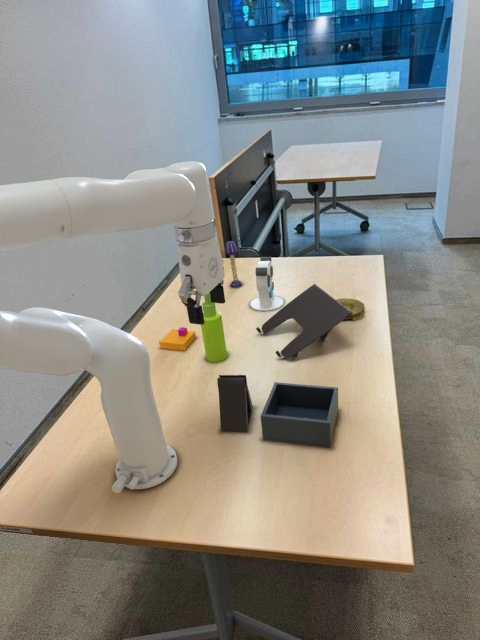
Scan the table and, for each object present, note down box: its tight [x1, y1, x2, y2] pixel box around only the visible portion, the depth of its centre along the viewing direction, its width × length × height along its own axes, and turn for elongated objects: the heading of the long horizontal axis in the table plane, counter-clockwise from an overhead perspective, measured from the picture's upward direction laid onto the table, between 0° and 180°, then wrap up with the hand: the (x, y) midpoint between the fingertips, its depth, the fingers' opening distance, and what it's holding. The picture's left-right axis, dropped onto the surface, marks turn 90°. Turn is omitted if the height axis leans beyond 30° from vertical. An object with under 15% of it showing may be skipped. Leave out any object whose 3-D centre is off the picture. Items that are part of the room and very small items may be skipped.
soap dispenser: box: [200, 292, 228, 363], centre depth 130 cm, size 6×7×20 cm
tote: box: [260, 381, 339, 449], centre depth 105 cm, size 13×15×7 cm
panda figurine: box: [249, 256, 284, 312], centre depth 159 cm, size 12×11×15 cm
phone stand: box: [216, 374, 254, 433], centre depth 107 cm, size 9×6×12 cm, turn 173°
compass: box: [335, 297, 365, 321], centre depth 151 cm, size 12×12×2 cm
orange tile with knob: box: [158, 326, 197, 352], centre depth 143 cm, size 8×8×4 cm
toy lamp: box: [224, 240, 243, 289], centre depth 175 cm, size 5×5×17 cm
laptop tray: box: [255, 283, 352, 360], centre depth 139 cm, size 23×23×9 cm
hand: (208, 312), depth 99 cm, fingers open, 9 cm apart
